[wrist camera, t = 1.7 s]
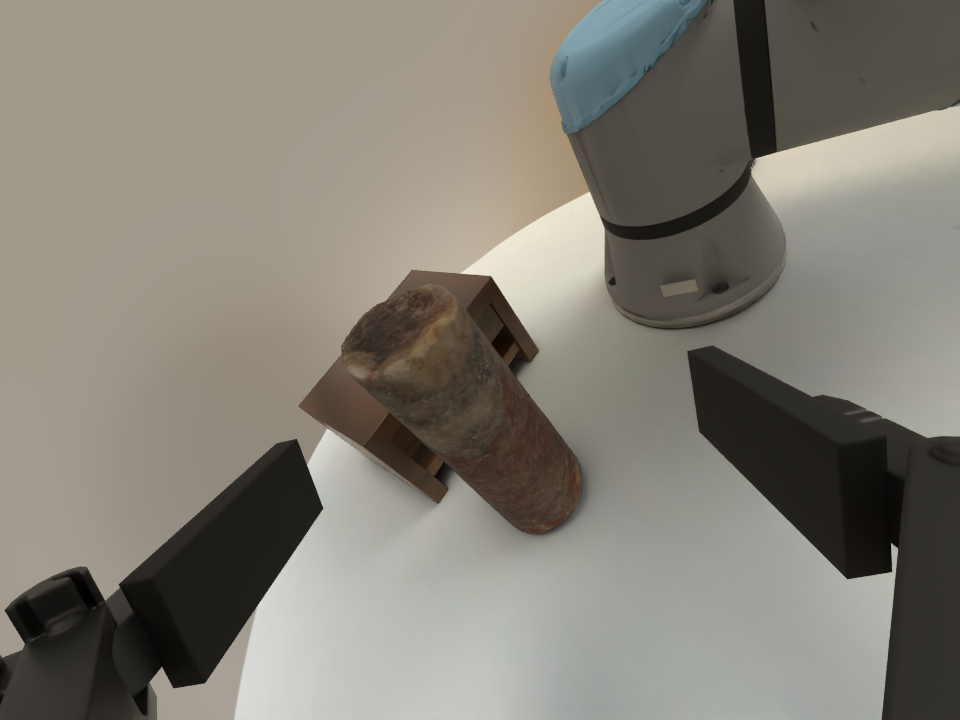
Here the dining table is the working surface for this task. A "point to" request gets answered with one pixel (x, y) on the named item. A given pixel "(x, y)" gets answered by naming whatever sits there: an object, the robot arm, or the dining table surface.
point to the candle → (464, 405)
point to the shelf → (373, 425)
